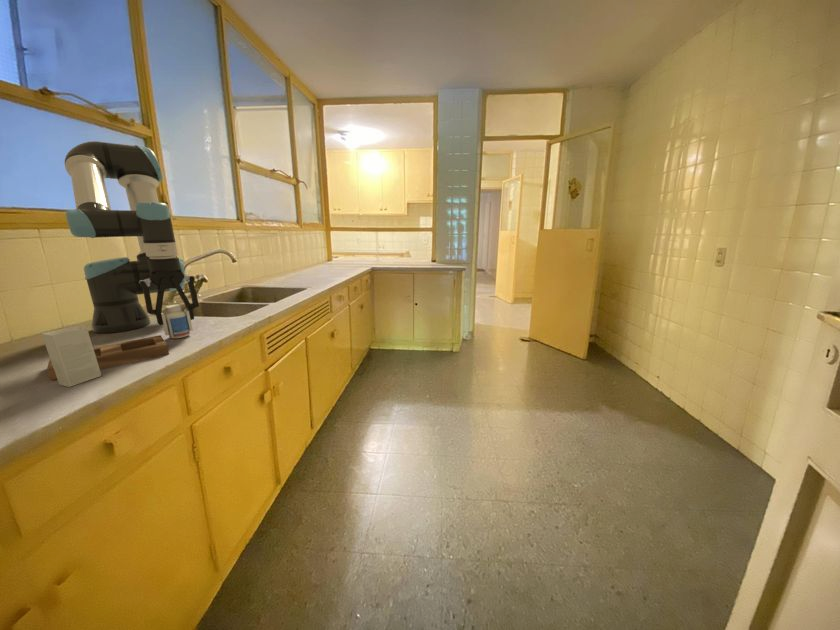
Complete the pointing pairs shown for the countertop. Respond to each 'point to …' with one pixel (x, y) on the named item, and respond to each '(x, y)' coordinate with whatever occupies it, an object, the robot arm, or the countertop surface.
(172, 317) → the pill bottle
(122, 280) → the robot arm
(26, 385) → the countertop surface
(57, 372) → the skincare box
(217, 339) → the countertop surface
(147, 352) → the socket block
